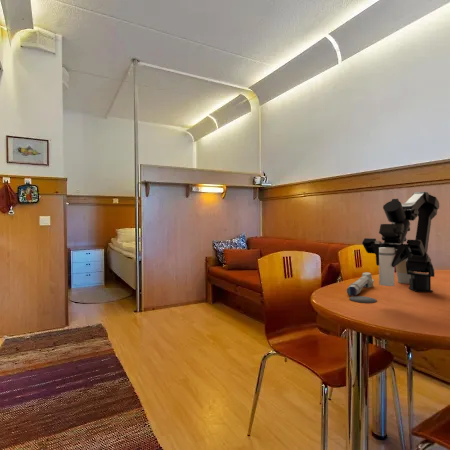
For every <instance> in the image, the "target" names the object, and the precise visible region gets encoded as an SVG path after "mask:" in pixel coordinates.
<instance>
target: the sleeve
mask: <svg viewBox="0 0 450 450" xmlns="http://www.w3.org/2000/svg"><path fill="white" fill-rule="evenodd" d="M394 252H395V250H394V248H392V247H379V266H378V281H379V282H378V284H379V285H380V286H385V287H394V286H395V267H392V262H393V259H394V257H395V255H394Z"/></svg>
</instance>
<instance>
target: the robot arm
mask: <svg viewBox="0 0 450 450" xmlns="http://www.w3.org/2000/svg"><path fill="white" fill-rule="evenodd" d="M439 201H440V200H439V199H438V198H437V197H436V196H434V195H431V194H430V193H429V192H428V191H415V192H413V193H412V195H411V197H409V198H408V199H407V200H406V201H405V202H404V203H402V202H401V201H399V198H392V199H391V200H390V201H387V202H386V203H384V204H383V206H382V209H383V212H384V213H385V216H386V219H387V221H388V222H389V223H381V224H380V225H379V230H378V231H379V232H378V234H380V235H381V240H382V241H380V240H377V239H376V238H373V237H372V238H371V237H369V238H367V237H365V238H364V239H363V240H362V242H361V243H362V246H363V248H364V250H365V252H366V253H368V254H374V255H375V263H376V266H378V267H379V247H392V248H394V251H395V250H397V252H396V255H394V259H393V262H392V267H394V268H396V265H397V264H399V263H400V262H402V261H403V260H405V259H407V258H408V260H407V261H406V269H407V275H411V278H410V279H409V285H408V289H409V290H412V291H415V292H417V293H418V292H419V293H420V292H421V293H422V292H424V293H426V292H430V293H431V292H433V293H434V290H433V289H431V288H432V287H431V282H432V281H431V279H432V277H433V278H434V277H435V273H436V272H435V269H434V266H433V263H432V258H431V257H430V255H429V253H428V249H429V241H430V232H431V225H432V220H433V218H435V217H436V216H437V213H438V210H439V209H440V202H439ZM417 218H418V219H417ZM416 219H417V225H416V226H417V227H416V233H415V239H407V234H408V232H410V231H411V227H410V226H411V223H410V222H412V221H415V220H416ZM405 242H406V243H405Z"/></svg>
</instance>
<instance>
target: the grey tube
mask: <svg viewBox="0 0 450 450" xmlns="http://www.w3.org/2000/svg"><path fill="white" fill-rule="evenodd" d="M374 282H375V280H374V278H373V276H372V274H371V272H368V271H367V272H362V274H361V277H359V279H357V280H356V281H354V282H352V283H350V284H349V285H348V287H347V288H346V294H347V295H348V296H350V297H352V296H358V295H359V294H360V293H361V291H362V290H363V288H373V287H374Z"/></svg>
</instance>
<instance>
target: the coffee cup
mask: <svg viewBox="0 0 450 450" xmlns="http://www.w3.org/2000/svg"><path fill="white" fill-rule="evenodd" d="M396 252H397V250H394V256H395V255H396ZM407 260H408V258H407V259H405V260H403V261H402V262H400V263H399V264H397V265H396V266H395V271H396V278H397V282H398V283H399V284H409V279H410V278H411V275H407V269H406V261H407Z"/></svg>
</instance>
